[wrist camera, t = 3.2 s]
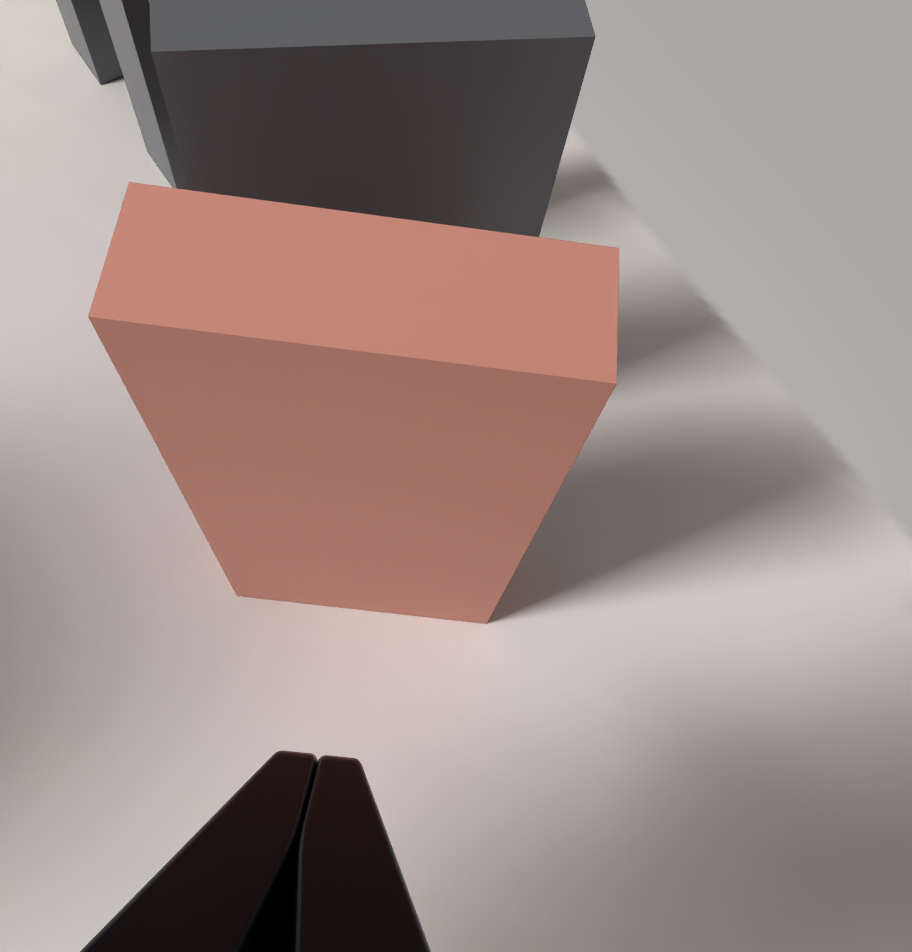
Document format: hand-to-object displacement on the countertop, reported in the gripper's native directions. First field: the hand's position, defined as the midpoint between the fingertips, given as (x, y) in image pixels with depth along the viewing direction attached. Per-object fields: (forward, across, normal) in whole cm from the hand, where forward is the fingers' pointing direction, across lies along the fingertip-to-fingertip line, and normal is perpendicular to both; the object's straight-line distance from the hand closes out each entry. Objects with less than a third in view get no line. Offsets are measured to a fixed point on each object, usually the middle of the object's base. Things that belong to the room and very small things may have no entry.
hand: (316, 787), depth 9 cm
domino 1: (+12, +1, -1) cm, 12 cm away
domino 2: (+9, 0, +2) cm, 9 cm away
